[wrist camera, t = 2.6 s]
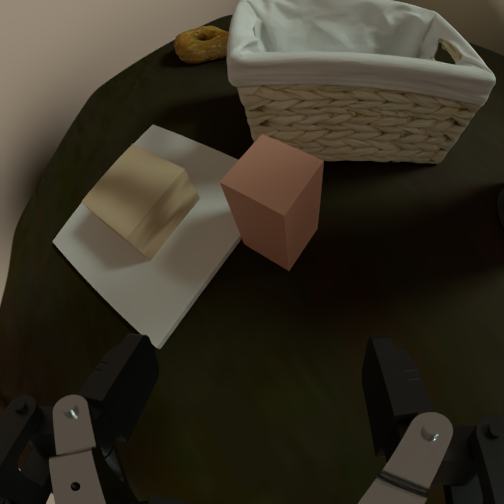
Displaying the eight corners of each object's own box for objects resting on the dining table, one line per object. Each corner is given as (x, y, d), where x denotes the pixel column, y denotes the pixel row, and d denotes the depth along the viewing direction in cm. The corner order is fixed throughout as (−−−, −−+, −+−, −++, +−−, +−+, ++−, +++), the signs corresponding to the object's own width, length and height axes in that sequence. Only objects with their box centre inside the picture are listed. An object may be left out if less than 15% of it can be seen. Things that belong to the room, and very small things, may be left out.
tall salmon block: (273, 204, 30) (262, 134, 21) (317, 228, 29) (323, 160, 19) (244, 244, 29) (219, 182, 20) (289, 271, 27) (284, 215, 18)
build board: (155, 128, 38) (152, 124, 37) (282, 184, 31) (282, 180, 30) (56, 244, 33) (52, 241, 32) (160, 349, 26) (156, 347, 25)
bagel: (207, 71, 42) (200, 47, 37) (166, 61, 46) (159, 41, 41) (248, 45, 44) (244, 23, 40) (205, 37, 48) (200, 17, 44)
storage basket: (415, 90, 35) (435, 6, 22) (454, 177, 29) (505, 82, 15) (252, 87, 38) (234, -5, 25) (248, 177, 32) (218, 60, 19)
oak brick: (150, 171, 33) (132, 143, 29) (200, 198, 31) (184, 169, 26) (105, 224, 31) (81, 202, 27) (150, 260, 29) (126, 239, 24)
